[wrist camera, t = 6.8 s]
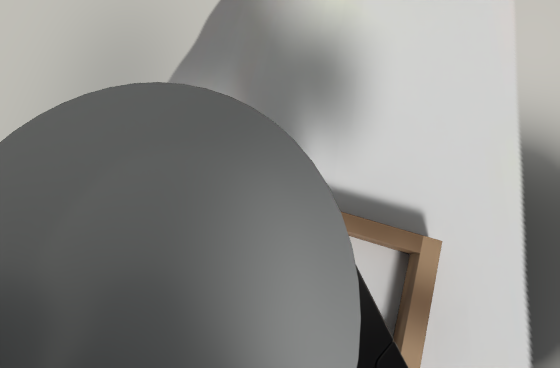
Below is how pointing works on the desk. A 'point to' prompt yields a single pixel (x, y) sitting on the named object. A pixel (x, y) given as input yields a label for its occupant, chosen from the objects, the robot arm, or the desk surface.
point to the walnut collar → (406, 280)
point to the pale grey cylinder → (170, 239)
